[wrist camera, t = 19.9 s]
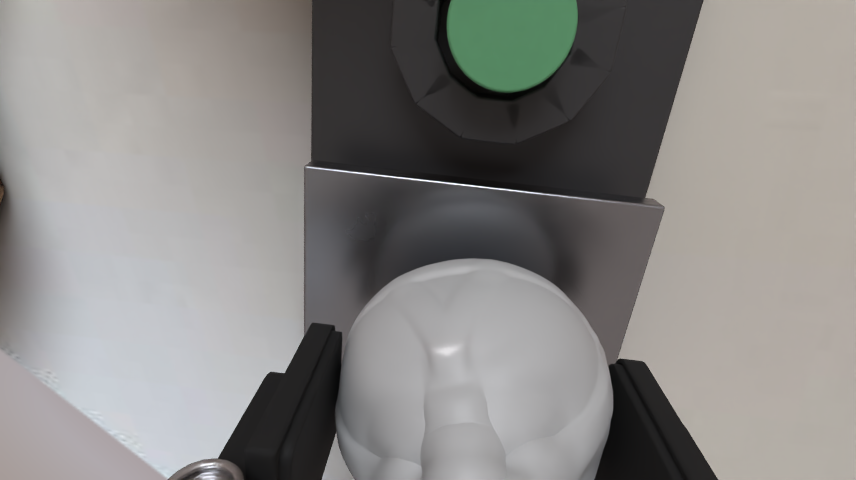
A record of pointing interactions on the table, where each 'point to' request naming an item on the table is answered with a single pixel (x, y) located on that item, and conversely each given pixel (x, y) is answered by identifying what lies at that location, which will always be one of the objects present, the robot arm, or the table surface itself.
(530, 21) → the button
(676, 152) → the table surface
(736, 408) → the table surface
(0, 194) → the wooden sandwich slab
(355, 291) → the scale pan
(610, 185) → the scale
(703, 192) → the table surface
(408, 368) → the figurine
